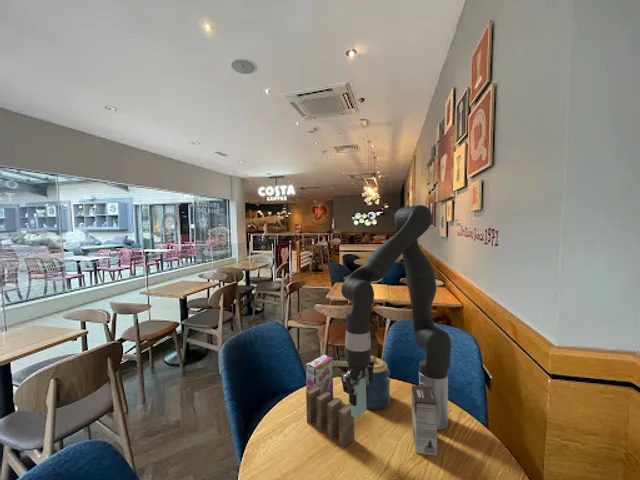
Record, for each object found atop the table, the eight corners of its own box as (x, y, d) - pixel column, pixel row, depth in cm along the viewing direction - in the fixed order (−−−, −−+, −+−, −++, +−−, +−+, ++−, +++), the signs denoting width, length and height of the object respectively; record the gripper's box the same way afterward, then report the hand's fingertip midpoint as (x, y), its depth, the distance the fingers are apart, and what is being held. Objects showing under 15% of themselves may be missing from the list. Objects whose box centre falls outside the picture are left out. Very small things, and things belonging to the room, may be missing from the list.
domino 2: (331, 424, 95) (330, 393, 95) (321, 432, 92) (320, 400, 91) (327, 422, 97) (326, 391, 96) (316, 429, 93) (316, 397, 93)
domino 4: (354, 439, 88) (353, 405, 88) (344, 448, 85) (343, 413, 84) (349, 436, 90) (348, 403, 89) (339, 445, 86) (338, 410, 86)
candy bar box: (315, 411, 103) (314, 368, 102) (306, 406, 106) (305, 364, 105) (334, 397, 111) (333, 357, 110) (324, 392, 114) (323, 353, 114)
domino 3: (342, 431, 92) (341, 399, 91) (332, 440, 88) (331, 406, 88) (337, 428, 93) (337, 397, 93) (327, 437, 90) (327, 403, 89)
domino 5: (366, 410, 84) (365, 375, 84) (356, 418, 81) (355, 381, 80) (361, 407, 86) (360, 373, 85) (351, 415, 82) (350, 379, 82)
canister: (351, 393, 113) (351, 351, 112) (380, 388, 116) (379, 347, 116) (365, 413, 100) (364, 366, 100) (396, 407, 104) (396, 361, 103)
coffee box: (411, 431, 91) (411, 384, 91) (432, 434, 90) (431, 385, 89) (415, 453, 82) (414, 401, 82) (438, 456, 81) (437, 403, 80)
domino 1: (320, 418, 99) (320, 388, 98) (310, 425, 95) (310, 394, 95) (316, 415, 100) (316, 385, 100) (306, 422, 97) (306, 391, 96)
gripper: (353, 356, 75) (354, 418, 75) (381, 341, 85) (382, 395, 86) (332, 349, 80) (333, 406, 81) (361, 335, 90) (362, 386, 91)
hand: (358, 400), depth 83 cm, fingers closed on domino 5, 5 cm apart
